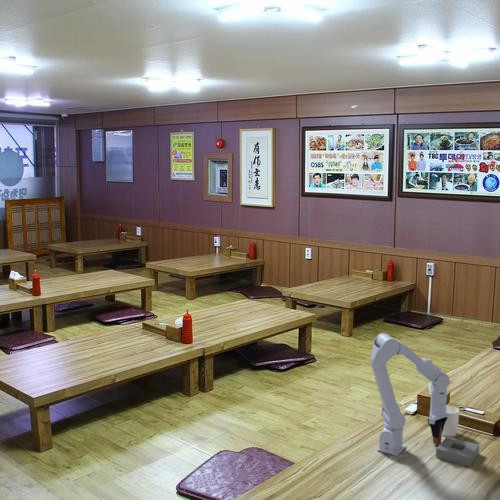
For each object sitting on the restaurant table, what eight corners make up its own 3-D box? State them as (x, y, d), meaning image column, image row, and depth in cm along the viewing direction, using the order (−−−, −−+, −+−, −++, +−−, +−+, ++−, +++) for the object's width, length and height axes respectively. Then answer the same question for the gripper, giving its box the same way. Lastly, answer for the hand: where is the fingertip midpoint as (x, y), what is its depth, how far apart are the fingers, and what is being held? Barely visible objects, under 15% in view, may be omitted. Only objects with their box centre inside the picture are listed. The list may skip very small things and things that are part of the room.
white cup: (461, 432, 242) (462, 409, 241) (453, 439, 236) (453, 415, 235) (443, 427, 248) (443, 404, 246) (434, 433, 242) (434, 409, 241)
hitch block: (469, 466, 215) (469, 457, 214) (436, 457, 222) (436, 448, 221) (478, 453, 224) (479, 444, 224) (446, 445, 231) (446, 436, 231)
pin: (439, 445, 229) (440, 425, 228) (431, 443, 231) (432, 423, 230) (442, 442, 232) (442, 422, 231) (434, 440, 234) (435, 420, 232)
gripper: (442, 410, 221) (441, 445, 223) (455, 397, 233) (453, 431, 235) (423, 405, 225) (422, 440, 227) (436, 394, 237) (435, 427, 239)
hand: (437, 435), depth 231 cm, fingers closed on pin, 3 cm apart
